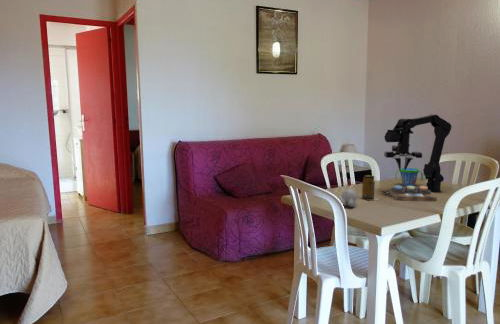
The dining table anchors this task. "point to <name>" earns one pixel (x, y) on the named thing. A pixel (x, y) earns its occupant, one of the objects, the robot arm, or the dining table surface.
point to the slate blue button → (397, 187)
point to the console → (412, 195)
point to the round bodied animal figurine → (349, 197)
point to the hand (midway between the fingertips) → (402, 170)
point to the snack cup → (409, 176)
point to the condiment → (368, 188)
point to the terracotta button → (423, 188)
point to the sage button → (410, 187)
